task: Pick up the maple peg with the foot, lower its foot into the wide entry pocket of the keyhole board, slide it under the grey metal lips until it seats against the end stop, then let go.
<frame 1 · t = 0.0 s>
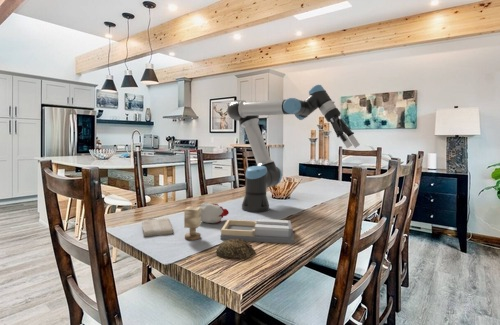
hand: (353, 146, 140), 36 cm above the table, fingers open, 13 cm apart
washcloth: (157, 230, 122), on the table
maple peg: (192, 237, 112), on the table
keyhole board: (255, 234, 117), on the table
bread roll: (236, 253, 99), on the table
white and red figurine: (213, 222, 133), on the table
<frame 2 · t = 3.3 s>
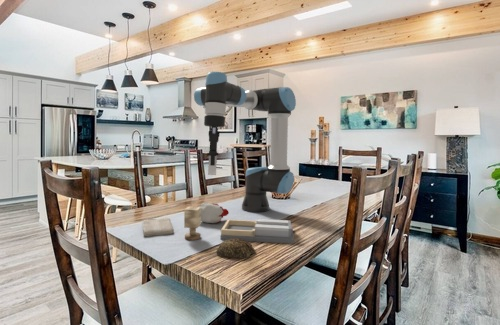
hand: (212, 173, 106), 26 cm above the table, fingers open, 13 cm apart
nothing on the table moved.
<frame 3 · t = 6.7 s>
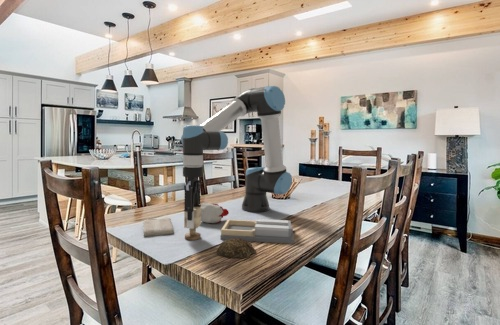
hand: (192, 225, 111), 5 cm above the table, fingers closed on maple peg, 5 cm apart
maple peg: (192, 237, 112), on the table, touching gripper
everything else where it was.
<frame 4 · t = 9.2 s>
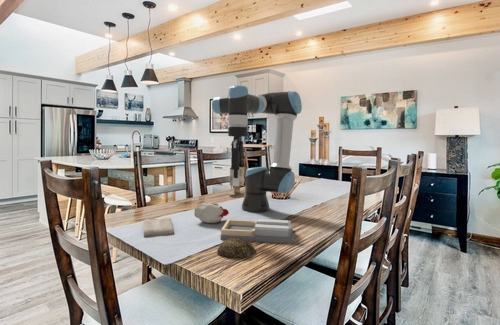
hand: (237, 184, 115), 20 cm above the table, fingers closed on maple peg, 5 cm apart
maple peg: (237, 196, 116), point 16 cm above the table, touching gripper
everything else where it was.
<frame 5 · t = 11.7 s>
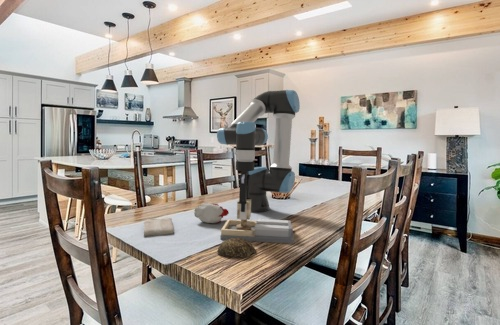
hand: (244, 217, 117), 7 cm above the table, fingers closed on maple peg, 5 cm apart
maple peg: (243, 228, 117), point 2 cm above the table, touching gripper
everything else where it was.
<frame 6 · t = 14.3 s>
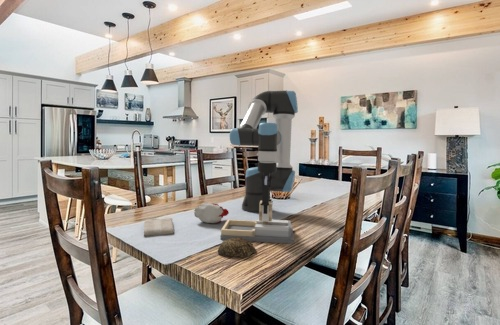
hand: (265, 219, 116), 7 cm above the table, fingers closed on maple peg, 5 cm apart
maple peg: (265, 230, 116), point 2 cm above the table, touching gripper
when the fingers open (7 cm above the table, at t = 16.7 s): maple peg stays where it is, resting on keyhole board.
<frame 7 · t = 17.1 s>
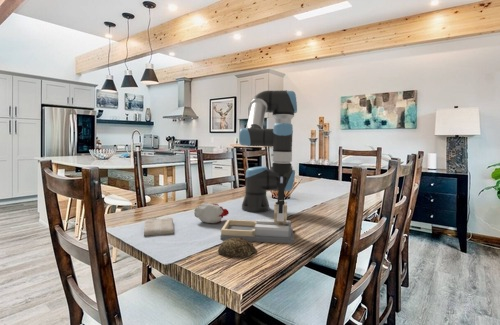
hand: (280, 216, 115), 8 cm above the table, fingers open, 11 cm apart
maple peg: (279, 232, 116), point 1 cm above the table, touching keyhole board
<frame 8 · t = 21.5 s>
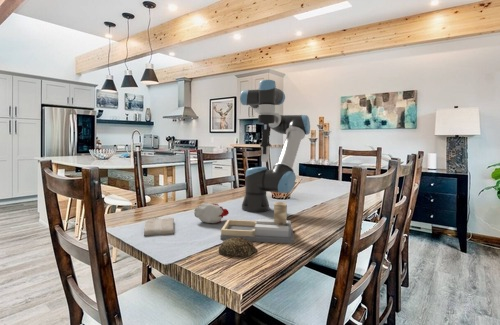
hand: (265, 160, 134), 29 cm above the table, fingers open, 13 cm apart
at the end: maple peg 0.4 cm from the target spot on the keyhole board, point 1.5 cm above the keyhole board's base; maple peg tilted 0°; the gripper is holding nothing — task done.
